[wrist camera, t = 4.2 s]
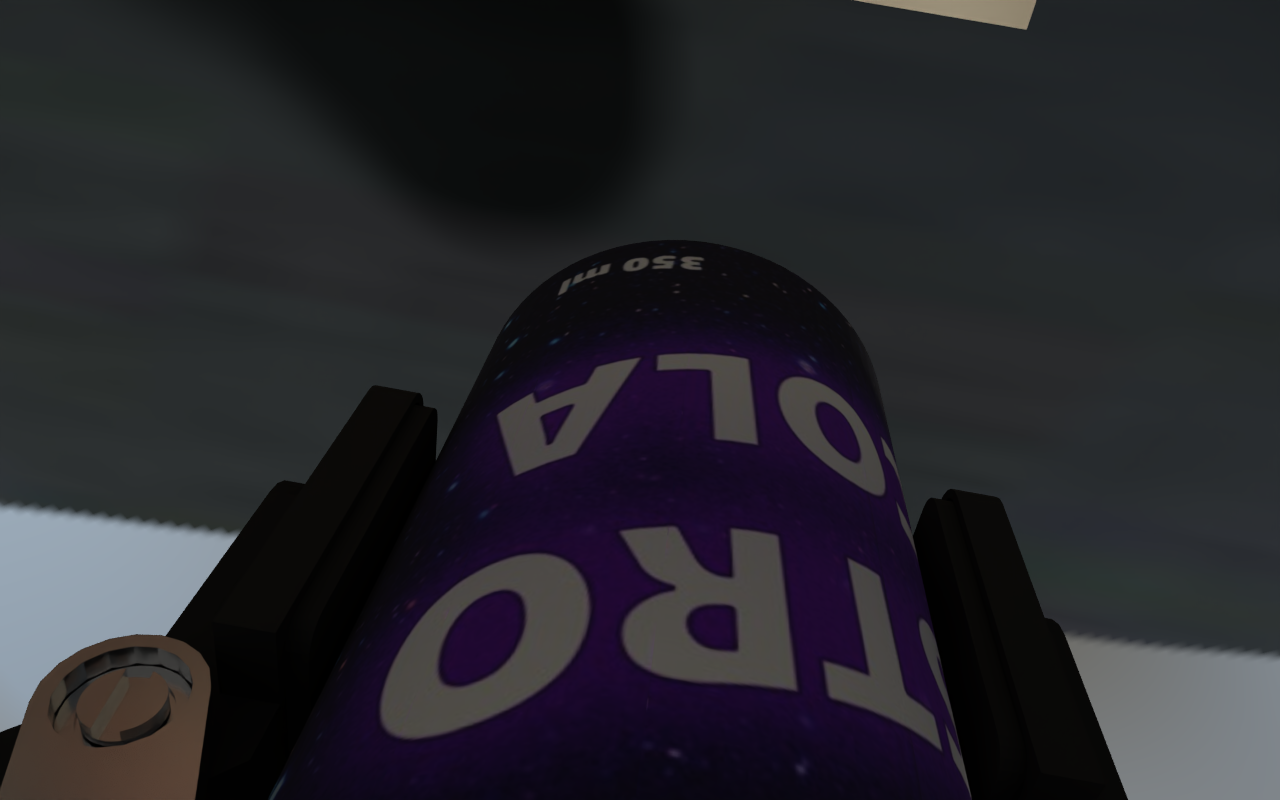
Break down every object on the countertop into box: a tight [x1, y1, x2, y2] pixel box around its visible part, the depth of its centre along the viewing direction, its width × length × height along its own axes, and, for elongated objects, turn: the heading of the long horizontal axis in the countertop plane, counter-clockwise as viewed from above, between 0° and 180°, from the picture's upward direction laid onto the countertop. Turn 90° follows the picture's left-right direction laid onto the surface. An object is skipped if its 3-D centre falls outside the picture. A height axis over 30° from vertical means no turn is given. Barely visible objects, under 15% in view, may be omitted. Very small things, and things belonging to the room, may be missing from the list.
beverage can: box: [268, 240, 972, 800], centre depth 10 cm, size 6×6×12 cm
